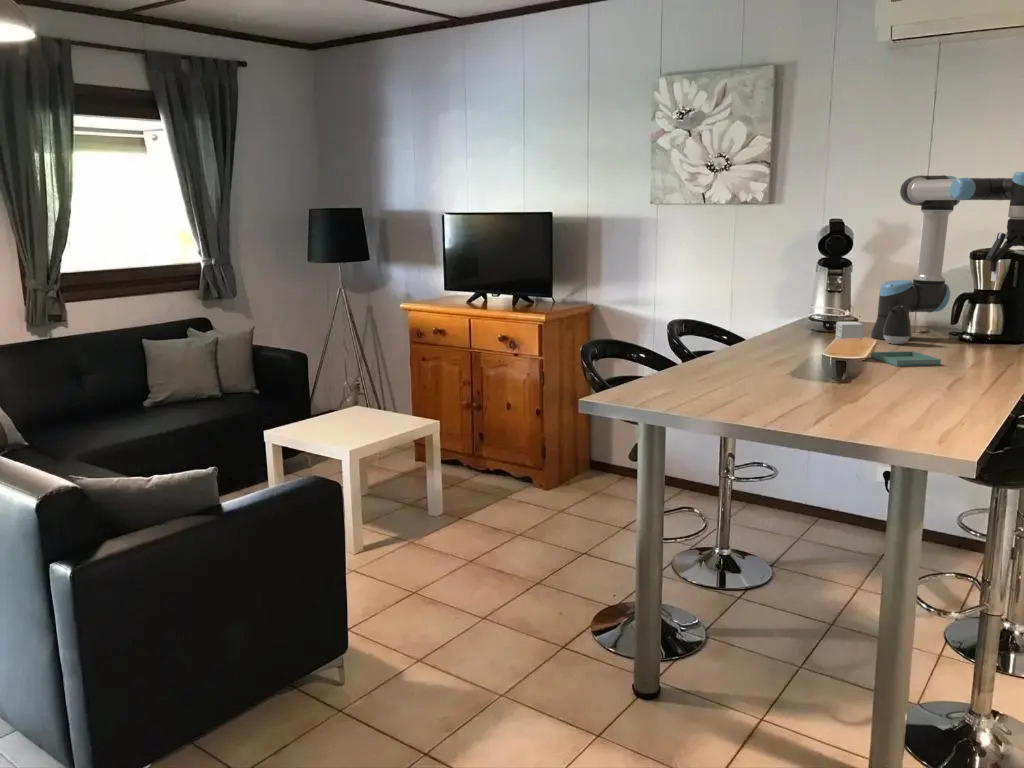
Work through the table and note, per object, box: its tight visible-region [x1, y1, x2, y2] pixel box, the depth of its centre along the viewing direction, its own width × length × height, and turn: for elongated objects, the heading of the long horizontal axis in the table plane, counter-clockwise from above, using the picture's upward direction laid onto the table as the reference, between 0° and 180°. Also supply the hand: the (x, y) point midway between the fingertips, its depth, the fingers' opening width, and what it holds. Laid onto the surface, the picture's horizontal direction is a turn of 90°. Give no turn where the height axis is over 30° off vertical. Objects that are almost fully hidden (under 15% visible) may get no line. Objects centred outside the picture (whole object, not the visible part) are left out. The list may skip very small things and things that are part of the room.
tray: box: [870, 350, 942, 367], centre depth 291 cm, size 16×16×2 cm
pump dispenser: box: [883, 305, 912, 345], centre depth 327 cm, size 10×10×15 cm
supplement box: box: [834, 321, 864, 341], centre depth 298 cm, size 7×7×13 cm
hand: (1012, 280), depth 290 cm, fingers open, 13 cm apart
